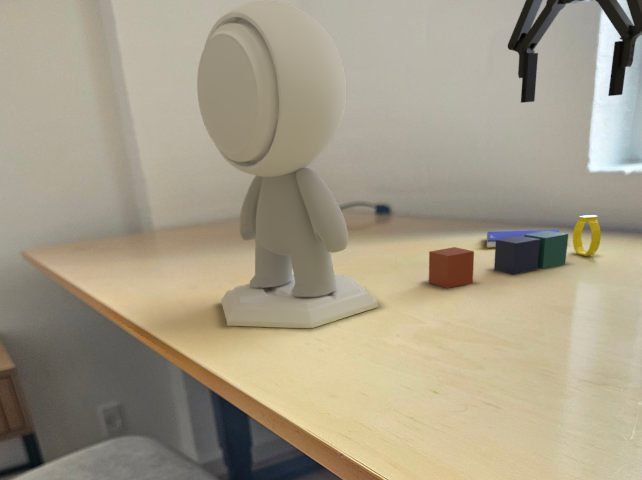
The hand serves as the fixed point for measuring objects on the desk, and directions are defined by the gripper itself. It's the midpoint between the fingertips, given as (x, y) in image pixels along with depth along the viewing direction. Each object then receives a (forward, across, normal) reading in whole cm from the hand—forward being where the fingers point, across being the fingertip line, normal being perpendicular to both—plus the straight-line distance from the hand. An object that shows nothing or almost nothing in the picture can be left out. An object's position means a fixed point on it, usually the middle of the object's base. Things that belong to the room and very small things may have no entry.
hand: (569, 99), depth 97 cm
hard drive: (+23, -10, +7) cm, 25 cm away
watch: (+23, +4, +2) cm, 23 cm away
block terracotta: (+22, -3, -24) cm, 33 cm away
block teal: (+22, +2, -7) cm, 24 cm away
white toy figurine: (+23, -14, -45) cm, 52 cm away
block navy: (+22, 0, -12) cm, 26 cm away
